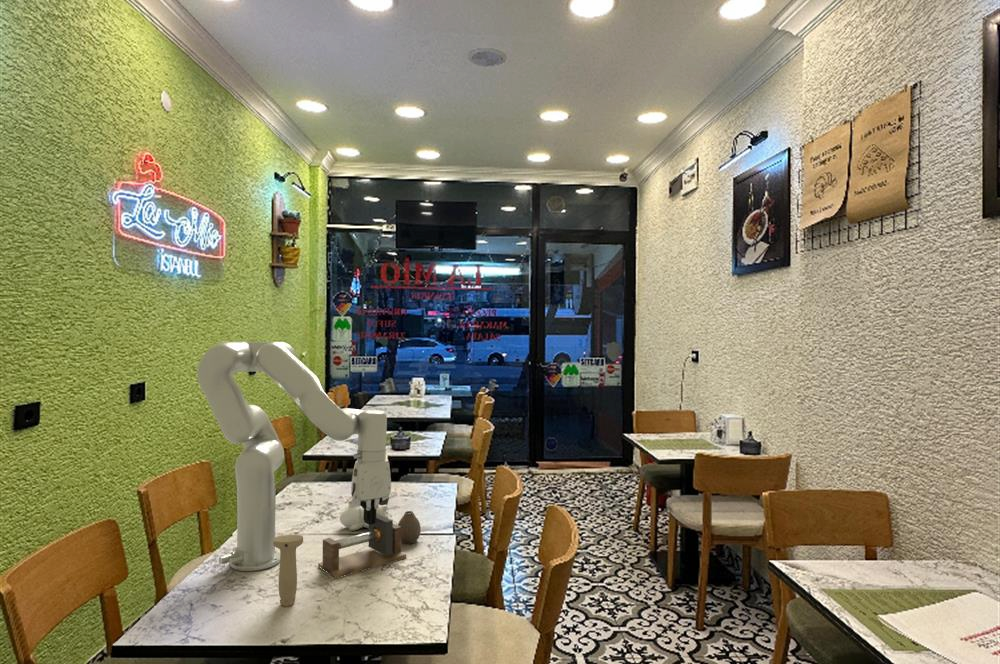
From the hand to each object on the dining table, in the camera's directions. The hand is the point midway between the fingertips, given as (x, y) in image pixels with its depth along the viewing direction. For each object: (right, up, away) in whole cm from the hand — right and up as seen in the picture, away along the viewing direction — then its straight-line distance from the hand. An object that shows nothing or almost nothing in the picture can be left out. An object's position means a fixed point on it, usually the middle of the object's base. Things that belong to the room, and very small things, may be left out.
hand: (369, 523), depth 165 cm
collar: (+3, -8, +2) cm, 9 cm away
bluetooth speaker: (-9, -10, +51) cm, 53 cm away
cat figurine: (-8, -10, +27) cm, 30 cm away
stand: (-1, -10, -2) cm, 10 cm away
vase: (+8, -10, +15) cm, 20 cm away
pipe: (-1, -5, -2) cm, 5 cm away
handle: (-13, -10, -27) cm, 31 cm away
